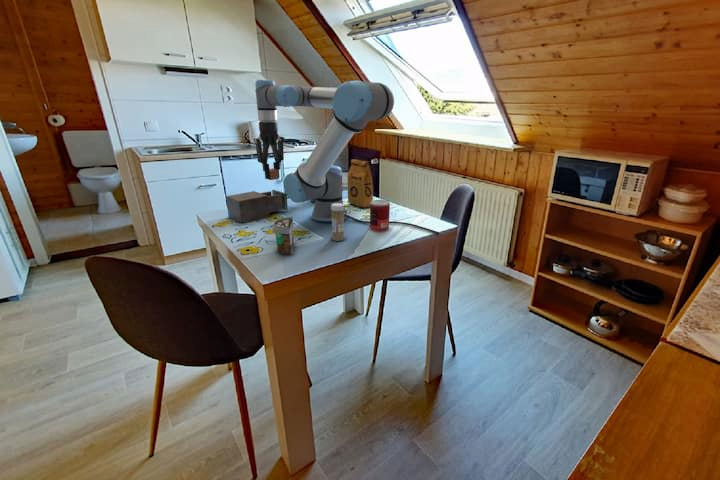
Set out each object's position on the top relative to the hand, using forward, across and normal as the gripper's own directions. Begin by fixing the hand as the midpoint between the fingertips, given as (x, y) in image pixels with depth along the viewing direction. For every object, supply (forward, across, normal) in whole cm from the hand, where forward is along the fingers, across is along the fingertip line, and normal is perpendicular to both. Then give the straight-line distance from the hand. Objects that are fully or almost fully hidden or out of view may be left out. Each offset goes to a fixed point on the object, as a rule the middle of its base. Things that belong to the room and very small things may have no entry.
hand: (272, 178), depth 150 cm
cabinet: (+17, +10, -6) cm, 20 cm away
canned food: (+16, -19, +45) cm, 52 cm away
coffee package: (+17, -40, +16) cm, 46 cm away
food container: (+17, +20, +36) cm, 45 cm away
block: (0, 0, 0) cm, 0 cm away
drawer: (+16, -4, -6) cm, 18 cm away
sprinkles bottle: (+16, +1, +42) cm, 45 cm away
